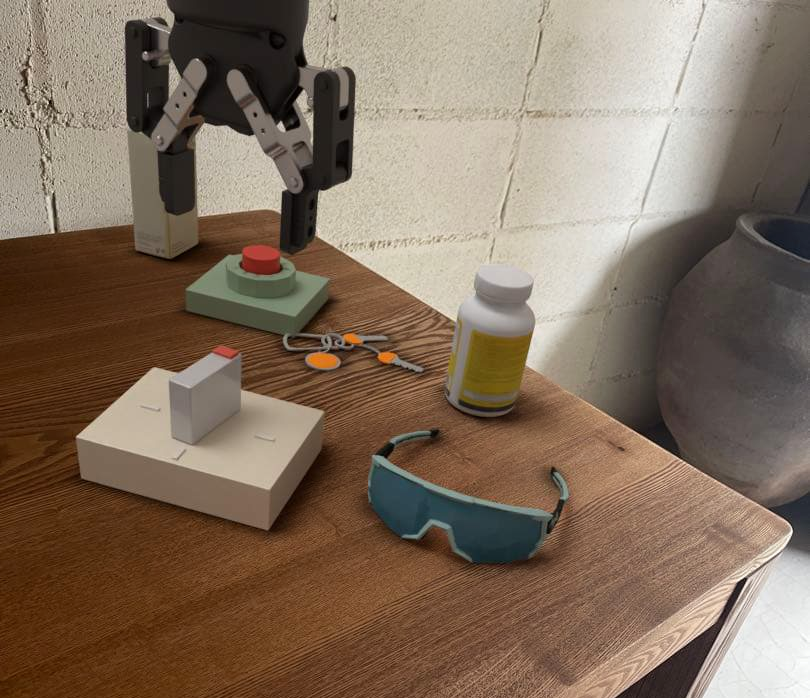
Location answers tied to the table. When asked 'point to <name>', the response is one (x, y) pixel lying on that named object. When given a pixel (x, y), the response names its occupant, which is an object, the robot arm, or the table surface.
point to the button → (261, 260)
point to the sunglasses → (457, 512)
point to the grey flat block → (205, 394)
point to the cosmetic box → (157, 204)
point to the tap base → (203, 453)
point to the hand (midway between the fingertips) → (236, 230)
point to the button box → (258, 296)
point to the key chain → (331, 361)
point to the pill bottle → (491, 342)
